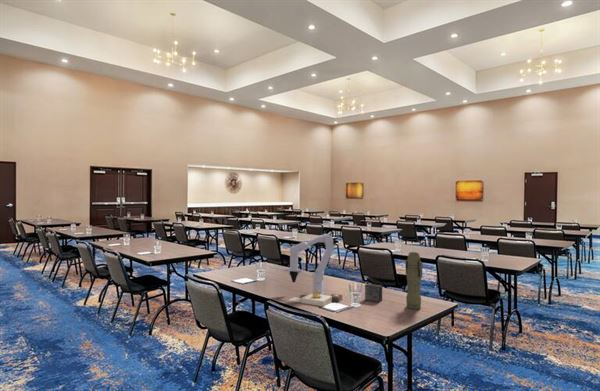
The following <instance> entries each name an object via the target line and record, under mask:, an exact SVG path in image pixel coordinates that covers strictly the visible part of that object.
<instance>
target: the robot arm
mask: <svg viewBox="0 0 600 391" xmlns="http://www.w3.org/2000/svg"><path fill="white" fill-rule="evenodd" d="M317 243H324V245H325V250H324V253H323V255H322V257H321V260H320V262H319V264H318V266H317V268H316V269H315V270H314V272H313V273H312V275H311V277H312V279H313V280H312V293H313V292H314V291H320V295H326V292H325V282H324V281H323V280H324V274H325V269H326V267H327V265H328V264H329V260H330V259H331V256H332V255H333V252H334V249H335V246H334V239H333V237H332V235H330V234H328V233H323V234H321V235H318V236H316V237H314V238H313V239H312V238H311V239H310V240H309V241H300V242H299V243H298V244H297V243H296V244H295V245H292V246H291V247H290V248H289V252H290V253H289V255H290V256H289V267H285V268H284V272H289V273H288V274H289V276H290V278H291V281H292V283H296V281H297V277H298V275H299V273H300V274H303V273H304V269H301V268H299V253H301V252H303V251H305V250H307V249H308V248H309V247H310V246H313V245H314V244H317Z"/></svg>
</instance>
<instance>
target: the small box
mask: <svg viewBox="0 0 600 391" xmlns="http://www.w3.org/2000/svg"><path fill="white" fill-rule="evenodd" d="M364 301H369V302H373V303H381V302H382V301H383V285H381V284H375V283H367V284H365V285H364Z"/></svg>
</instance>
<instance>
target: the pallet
mask: <svg viewBox="0 0 600 391" xmlns="http://www.w3.org/2000/svg"><path fill="white" fill-rule="evenodd" d="M301 298H302V301H301V303H302V304H306V305H314V306H318V307H319V306H320V307H321V306H324V307H326V306H328V305H329V304H330V303H332V302H333V301H332V296H330V295H326V294H323V295H320V298H319V299H318V298H313V292H311V293H308V294H306V295H304V296H302V297H301ZM325 305H326V306H325Z"/></svg>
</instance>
